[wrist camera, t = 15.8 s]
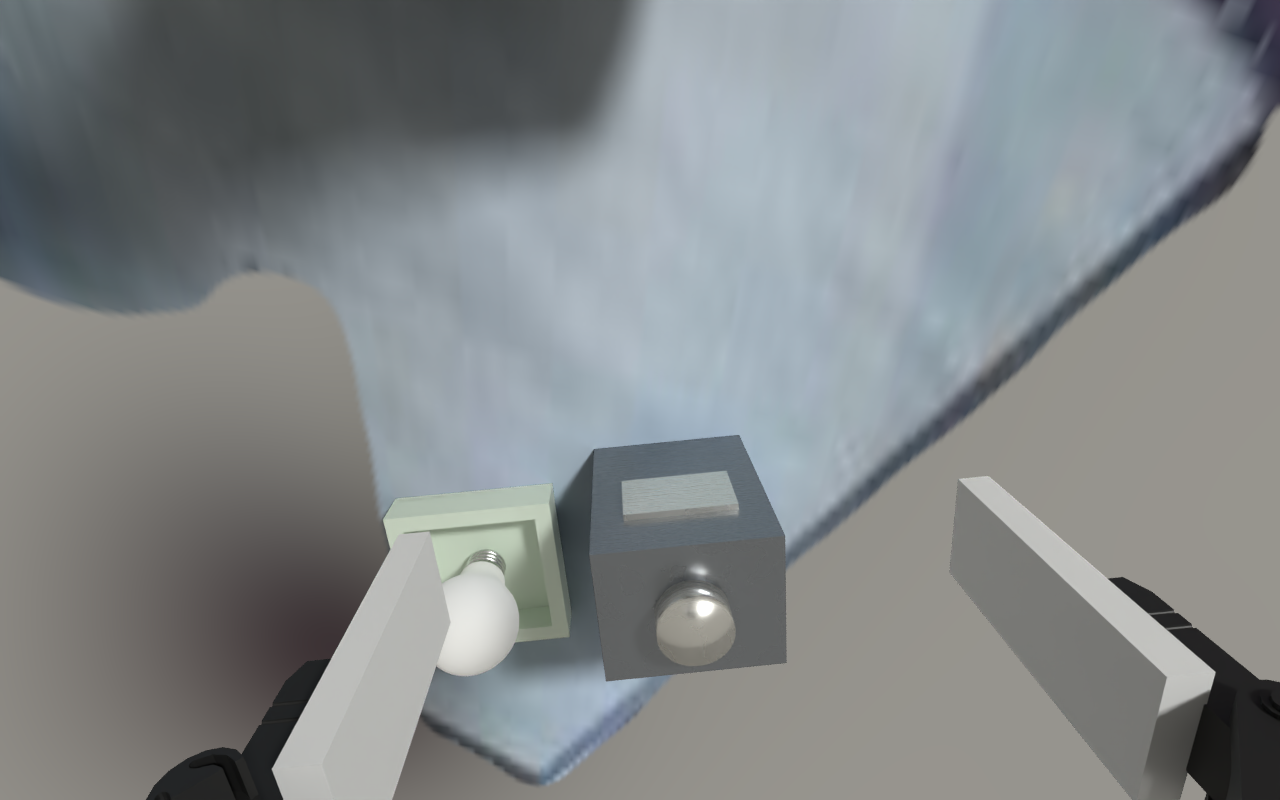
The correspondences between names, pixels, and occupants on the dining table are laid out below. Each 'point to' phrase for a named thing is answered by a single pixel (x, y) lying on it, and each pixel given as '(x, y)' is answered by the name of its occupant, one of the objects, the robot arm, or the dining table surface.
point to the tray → (498, 546)
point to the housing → (685, 560)
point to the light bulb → (478, 617)
